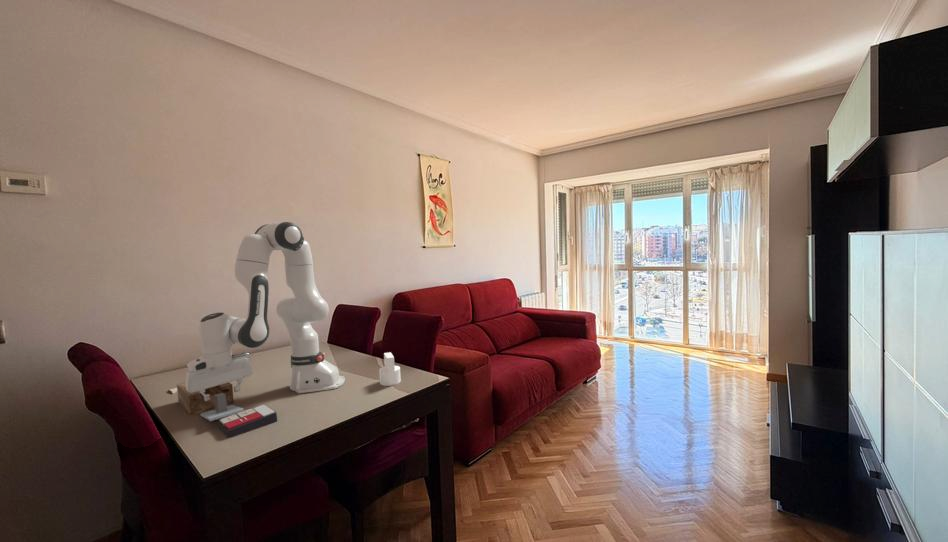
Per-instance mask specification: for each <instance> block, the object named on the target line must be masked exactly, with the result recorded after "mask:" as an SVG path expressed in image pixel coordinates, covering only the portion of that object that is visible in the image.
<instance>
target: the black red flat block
mask: <svg viewBox="0 0 948 542" xmlns="http://www.w3.org/2000/svg"><path fill="white" fill-rule="evenodd" d="M277 415H278V414H277V412H276V411H275V410H274V409H272V408H271V407H269V406H267V404H261V405H259V406H256V407H253V408H249V409H244V411H243V412H240V413H236V414H233V415H229V416H226V417H223V418H219V420H218V421H217V423H218V425H217V426H218V429H219V431H221V432H222V433H223V434H224V435H225V437H226V438H228V439H230V438H234V437H236V436H239V435H243V434H245V433H248V432H251V431H253V430H257V429H259V428H262V427H265V426H269V425H271V424H274V423H277V422H278V416H277Z"/></svg>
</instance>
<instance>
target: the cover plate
mask: <svg viewBox="0 0 948 542" xmlns="http://www.w3.org/2000/svg"><path fill="white" fill-rule="evenodd" d="M214 402H215V409H212V410H209V411H205V412H202V413H199V414H200V416H201V417H202V418H204V420H207V421H209V422H212V421H215V420H220V419H223V418H226V417H229V416H231V415H234V414H236V415H237V413H240V412H243V411H245V409H244V408H243V407H239V406H236V405H234V404H229V405H227V403H226V395H225V394H224V393H219V394H216V395H214Z"/></svg>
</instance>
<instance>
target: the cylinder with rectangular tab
mask: <svg viewBox="0 0 948 542" xmlns="http://www.w3.org/2000/svg"><path fill="white" fill-rule="evenodd" d="M383 360H384V361H383V362H384V363H383V364H384V366H382V367H380V368H379V369H378V372H379V384H380V385H381V386H384V387H387V386H388V387H391V386H396V385H398V384H400V383H401V381H402V379H401V367H400V366H399V365H395V357H394V355H393V353H392V351H391V352H390V351H389V352H384V353H383Z"/></svg>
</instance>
